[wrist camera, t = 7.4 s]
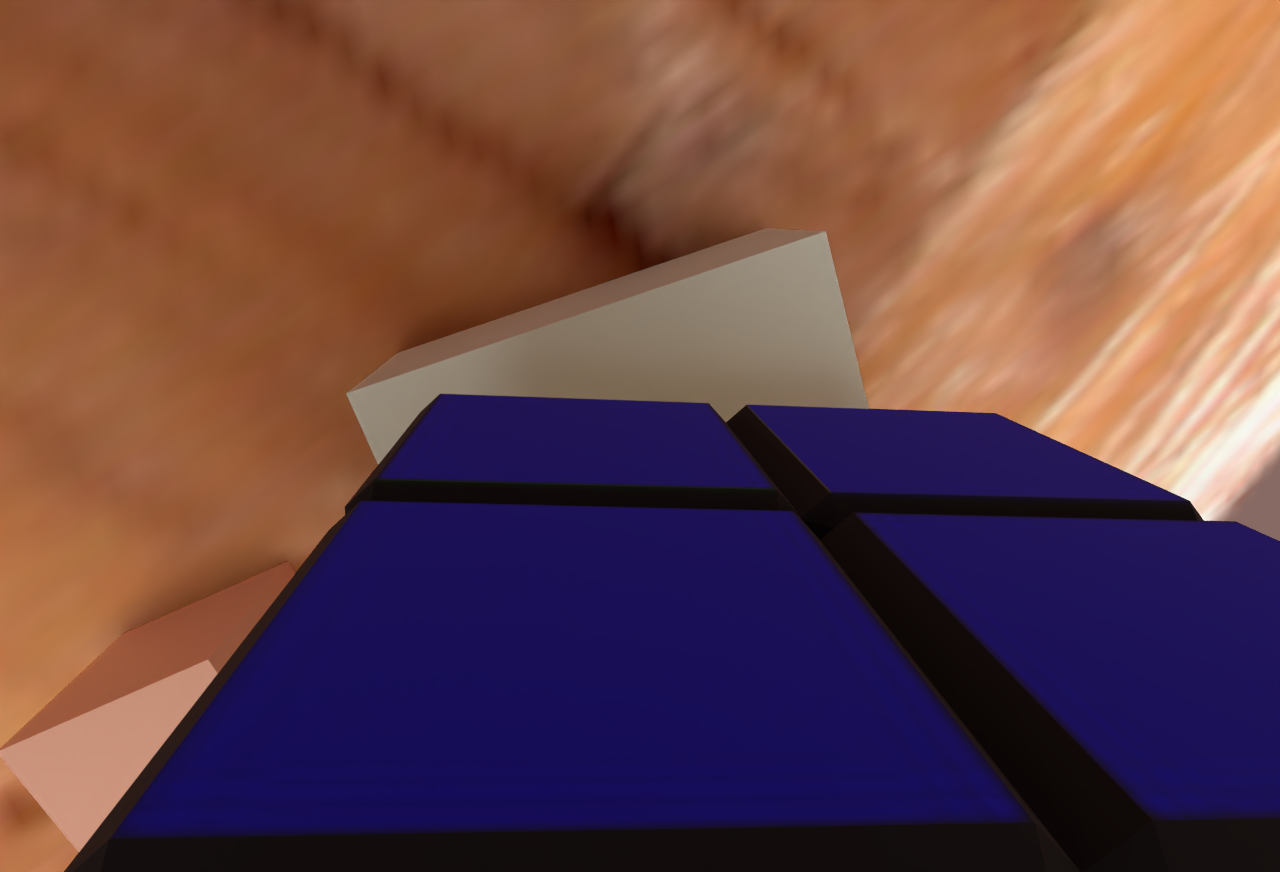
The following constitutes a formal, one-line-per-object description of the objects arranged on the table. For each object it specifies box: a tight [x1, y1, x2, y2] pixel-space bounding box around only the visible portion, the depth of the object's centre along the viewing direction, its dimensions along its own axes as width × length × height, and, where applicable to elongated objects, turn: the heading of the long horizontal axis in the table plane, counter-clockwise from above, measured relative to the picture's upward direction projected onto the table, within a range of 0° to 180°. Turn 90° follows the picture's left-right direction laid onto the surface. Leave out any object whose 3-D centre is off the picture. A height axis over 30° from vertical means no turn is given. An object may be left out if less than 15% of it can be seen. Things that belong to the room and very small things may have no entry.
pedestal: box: [346, 228, 869, 465], centre depth 23 cm, size 12×12×6 cm
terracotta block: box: [0, 561, 295, 852], centre depth 24 cm, size 6×6×6 cm
